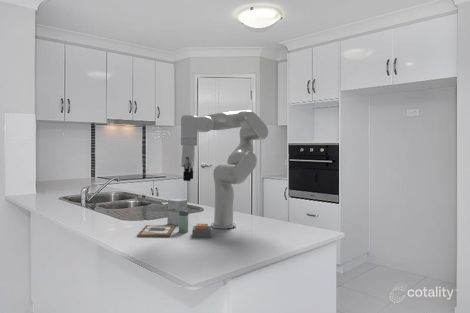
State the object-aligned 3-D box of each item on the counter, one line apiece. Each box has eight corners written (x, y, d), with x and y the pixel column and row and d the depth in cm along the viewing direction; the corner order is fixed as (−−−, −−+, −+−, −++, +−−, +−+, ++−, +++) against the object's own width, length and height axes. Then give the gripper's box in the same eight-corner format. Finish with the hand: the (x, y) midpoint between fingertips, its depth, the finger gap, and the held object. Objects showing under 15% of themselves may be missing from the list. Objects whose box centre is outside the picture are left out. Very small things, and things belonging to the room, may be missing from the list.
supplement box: (166, 224, 186) (167, 199, 186) (175, 221, 193) (176, 198, 192) (178, 225, 183) (179, 201, 182) (187, 223, 189) (187, 199, 189)
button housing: (193, 233, 167) (193, 225, 167) (210, 233, 168) (211, 226, 167) (192, 237, 159) (192, 229, 159) (210, 237, 160) (210, 230, 160)
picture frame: (146, 227, 178) (146, 224, 178) (174, 227, 179) (175, 224, 179) (137, 236, 158) (137, 234, 158) (169, 237, 159) (169, 234, 159)
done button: (196, 229, 166) (196, 223, 166) (207, 229, 166) (207, 223, 166) (196, 232, 161) (196, 225, 161) (207, 232, 161) (207, 226, 161)
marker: (179, 230, 172) (179, 209, 172) (188, 230, 172) (188, 209, 172) (178, 232, 168) (178, 211, 167) (187, 233, 168) (188, 211, 168)
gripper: (183, 142, 174) (182, 178, 175) (177, 142, 157) (177, 181, 157) (198, 142, 174) (198, 178, 175) (195, 142, 157) (194, 181, 157)
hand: (188, 179), depth 166 cm, fingers open, 9 cm apart
